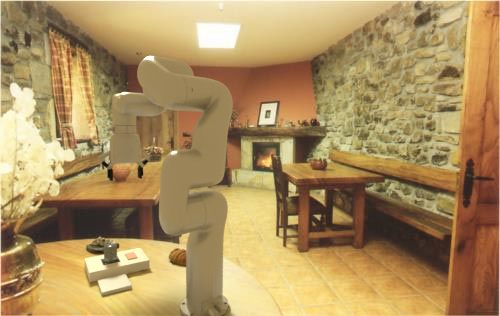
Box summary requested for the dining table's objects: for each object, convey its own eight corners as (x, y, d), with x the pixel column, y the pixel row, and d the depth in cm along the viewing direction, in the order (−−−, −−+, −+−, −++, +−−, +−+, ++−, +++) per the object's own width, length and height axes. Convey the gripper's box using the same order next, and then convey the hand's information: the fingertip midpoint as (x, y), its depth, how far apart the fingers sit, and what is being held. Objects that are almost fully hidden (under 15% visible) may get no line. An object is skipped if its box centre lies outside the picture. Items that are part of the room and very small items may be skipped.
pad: (131, 288, 93) (131, 285, 93) (101, 295, 89) (101, 292, 89) (125, 276, 100) (125, 273, 100) (97, 283, 95) (97, 280, 95)
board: (149, 268, 106) (149, 259, 105) (89, 282, 96) (89, 271, 96) (140, 255, 116) (140, 246, 115) (84, 266, 106) (84, 257, 106)
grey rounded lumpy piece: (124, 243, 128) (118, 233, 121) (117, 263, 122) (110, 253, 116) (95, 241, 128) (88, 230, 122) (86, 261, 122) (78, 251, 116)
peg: (118, 270, 104) (118, 246, 103) (105, 273, 102) (104, 249, 101) (116, 265, 108) (115, 242, 107) (103, 268, 105) (102, 244, 105)
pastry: (198, 262, 112) (198, 251, 112) (184, 269, 107) (184, 258, 106) (180, 255, 118) (180, 245, 117) (166, 261, 112) (166, 251, 112)
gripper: (99, 130, 102) (100, 183, 104) (152, 131, 112) (153, 178, 114) (95, 130, 109) (97, 179, 111) (146, 130, 118) (147, 175, 120)
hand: (125, 179), depth 112 cm, fingers open, 9 cm apart
